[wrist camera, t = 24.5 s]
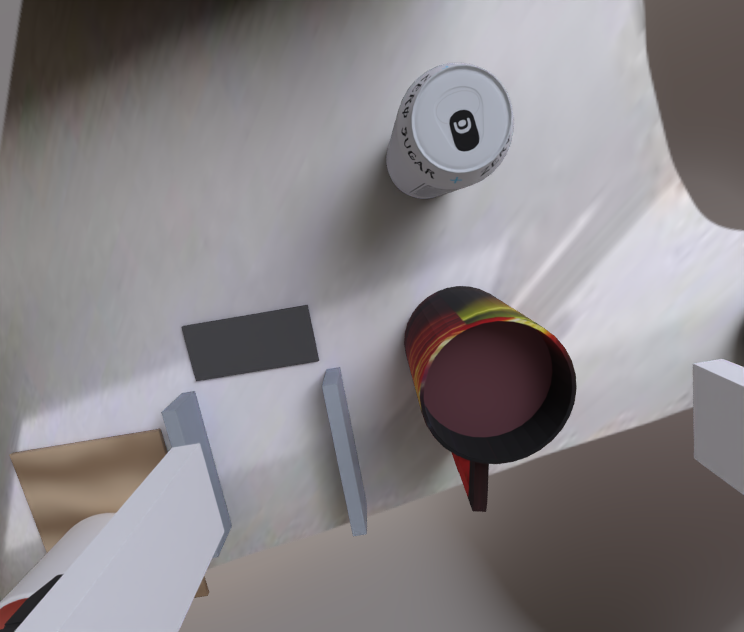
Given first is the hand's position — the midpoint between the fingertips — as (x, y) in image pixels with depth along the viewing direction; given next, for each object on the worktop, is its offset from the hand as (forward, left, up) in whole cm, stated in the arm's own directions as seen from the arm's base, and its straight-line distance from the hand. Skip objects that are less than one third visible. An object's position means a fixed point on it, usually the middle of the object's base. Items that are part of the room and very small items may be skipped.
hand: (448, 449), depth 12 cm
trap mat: (+2, -13, -27) cm, 30 cm away
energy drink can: (-10, +4, -27) cm, 29 cm away
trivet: (+18, -30, -27) cm, 44 cm away
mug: (+7, +5, -27) cm, 29 cm away
